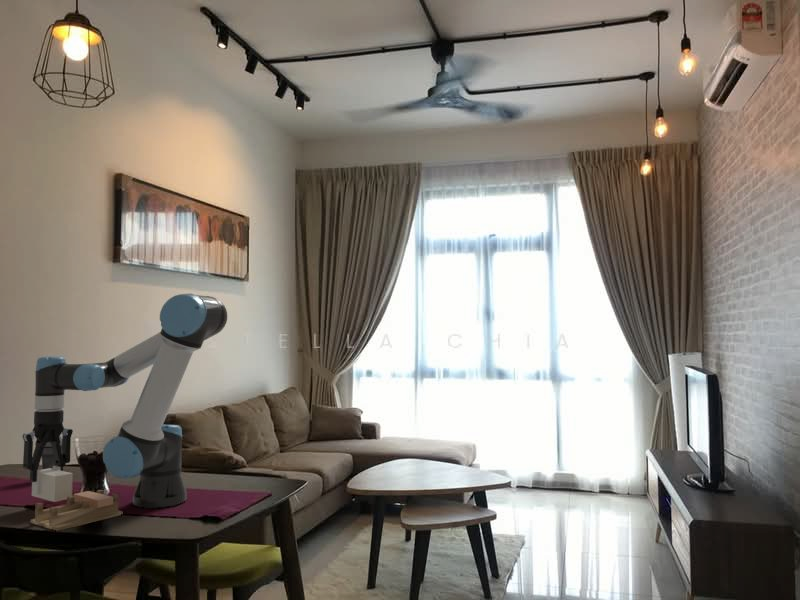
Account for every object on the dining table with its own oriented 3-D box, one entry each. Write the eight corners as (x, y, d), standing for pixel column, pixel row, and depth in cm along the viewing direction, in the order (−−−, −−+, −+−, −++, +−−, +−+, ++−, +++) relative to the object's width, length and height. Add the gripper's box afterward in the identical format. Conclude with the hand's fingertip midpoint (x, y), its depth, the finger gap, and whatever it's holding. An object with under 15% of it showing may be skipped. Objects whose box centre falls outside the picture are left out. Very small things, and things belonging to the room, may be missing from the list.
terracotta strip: (113, 504, 178) (113, 496, 178) (98, 507, 174) (98, 500, 174) (88, 498, 184) (88, 490, 184) (73, 501, 180) (73, 494, 181)
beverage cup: (48, 477, 225) (50, 419, 226) (67, 477, 224) (69, 419, 225) (33, 481, 218) (35, 422, 219) (53, 482, 217) (55, 422, 218)
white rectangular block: (71, 498, 183) (72, 473, 184) (54, 502, 179) (55, 476, 179) (49, 492, 190) (49, 468, 190) (31, 495, 186) (32, 471, 186)
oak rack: (122, 514, 179) (123, 495, 180) (57, 531, 164) (57, 509, 164) (95, 507, 187) (96, 488, 187) (30, 522, 171) (31, 502, 171)
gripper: (72, 406, 197) (69, 483, 196) (9, 411, 182) (6, 495, 181) (86, 407, 193) (83, 486, 192) (23, 413, 178) (20, 499, 177)
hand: (46, 490), depth 186 cm, fingers closed on white rectangular block, 5 cm apart
